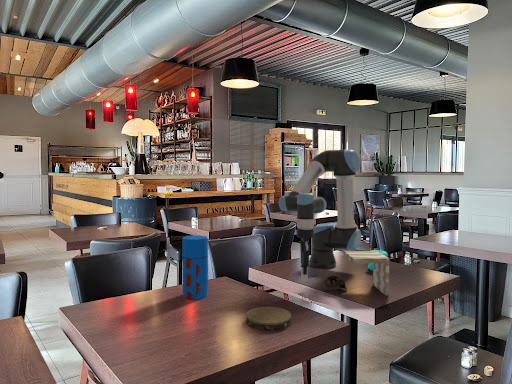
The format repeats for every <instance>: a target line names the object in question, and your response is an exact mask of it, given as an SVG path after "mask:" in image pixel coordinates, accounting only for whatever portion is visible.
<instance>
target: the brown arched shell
mask: <svg viewBox="0 0 512 384" xmlns="http://www.w3.org/2000/svg"><path fill="white" fill-rule="evenodd" d="M328 281H329V282H330V283H327V282H328ZM323 288H324V291H325V292H327V291H333V290H334V291H335V290H336V289H338V290H340V289H341V290H342V289H343V290H345V292H346V293H347V291H348V289H347V286H346V282H345V280H344V279H343V277H340V276H339V275H338V274H331V275H328V276H327V277H326V278H325V279H324V287H323Z"/></svg>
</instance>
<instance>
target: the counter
mask: <svg viewBox="0 0 512 384" xmlns="http://www.w3.org/2000/svg"><path fill="white" fill-rule="evenodd" d="M343 256H344V257H345V258H346V259H348V260H349V262H351V263H353V264H370V263H373V271H372V285H373V286H374V287H375V288H376V289H377V290H378V291H379V292H381V293H382V294H383V295H384V296H390V258H389V257H388V256H387V257H386V256H384V255H383V254H381V253H379V252H378V251H372V250H354V251H352V250H348V251H347V250H343Z"/></svg>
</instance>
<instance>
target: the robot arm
mask: <svg viewBox="0 0 512 384" xmlns="http://www.w3.org/2000/svg"><path fill="white" fill-rule="evenodd" d="M360 166H361V163H360V158H359V155H358V153H357V151H356V150H354V149H346V148H345V149H332V150H331V149H328V150H324V151H322V152H319V153H318V154H317V155H316V156H314V157H313V158H312V159H311V160H310V162H308V163H307V169H306V170H304V173H303V174H302V175H301V176H300V178H299V180H298V181H297V183H296V184H295V185H294V187H292V189H291V191H290V192H289V193H288V195H282V196H280V197H279V199H278V206H279V210H281V212H288V213H289V212H290V213H291V212H292V213H296V220H295V224H296V227H297V228H296V237H297V238H298V239H299V238H300V239H301V240H300V241H299V247H300V253H299V254H300V268H301V269H300V281H301V282H304V283H306V282H308V281H309V280H308V277H309V272H308V271H309V267H311V268H316V269H324V270H325V269H333V268H336V267H337V261H336V257H335V254H334V249H336V250H343V251H357V249H358V248H359V246H360V243H361V240H362V232H361V229H358V225H357V224H356V223H355V214H354V213H355V212H354V210H355V209H354V208H355V207H354V178H355V176H356V175H357V172H359V171H360ZM325 173H333V177H335V180H336V207H337V209H336V210H337V223H336V224H335V225H334V224H332V223H329V224H328V223H327V224H319V225H315V215H316V214H320V213H323V212H324V211H325V210H326V209H327V208H328V207H327V201H326V199H325V198H324V197H322V196H315V194H313V193H309V192H310V191H311V190H312V188H313V187H314V185H315V183H316V182H317V181H318V180H319V178H320V177H322V176H323V175H324V174H325ZM310 239H311V241H312V243H311V242H310ZM311 244H312V245H311ZM311 247H312V248H311ZM310 251H311V255H310Z"/></svg>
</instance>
